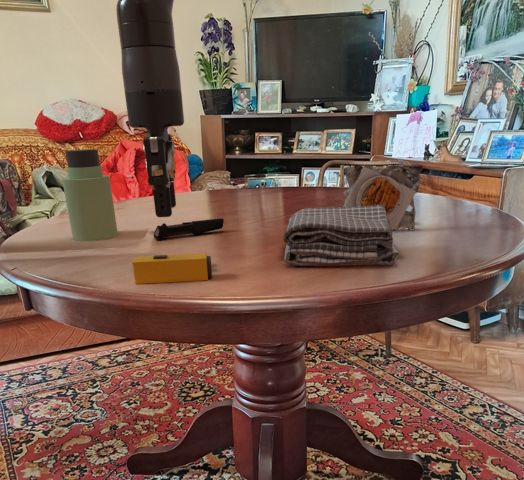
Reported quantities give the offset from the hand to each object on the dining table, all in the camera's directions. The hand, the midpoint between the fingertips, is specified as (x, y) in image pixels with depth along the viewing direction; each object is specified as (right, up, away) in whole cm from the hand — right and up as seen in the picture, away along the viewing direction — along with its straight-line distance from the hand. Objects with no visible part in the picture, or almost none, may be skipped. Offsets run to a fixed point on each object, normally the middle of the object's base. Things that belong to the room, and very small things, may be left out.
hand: (166, 211), depth 75 cm
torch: (0, -9, +4) cm, 10 cm away
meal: (+39, +4, +32) cm, 50 cm away
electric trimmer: (-2, +4, +35) cm, 35 cm away
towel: (+27, -4, +13) cm, 31 cm away
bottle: (-20, +2, +31) cm, 37 cm away
